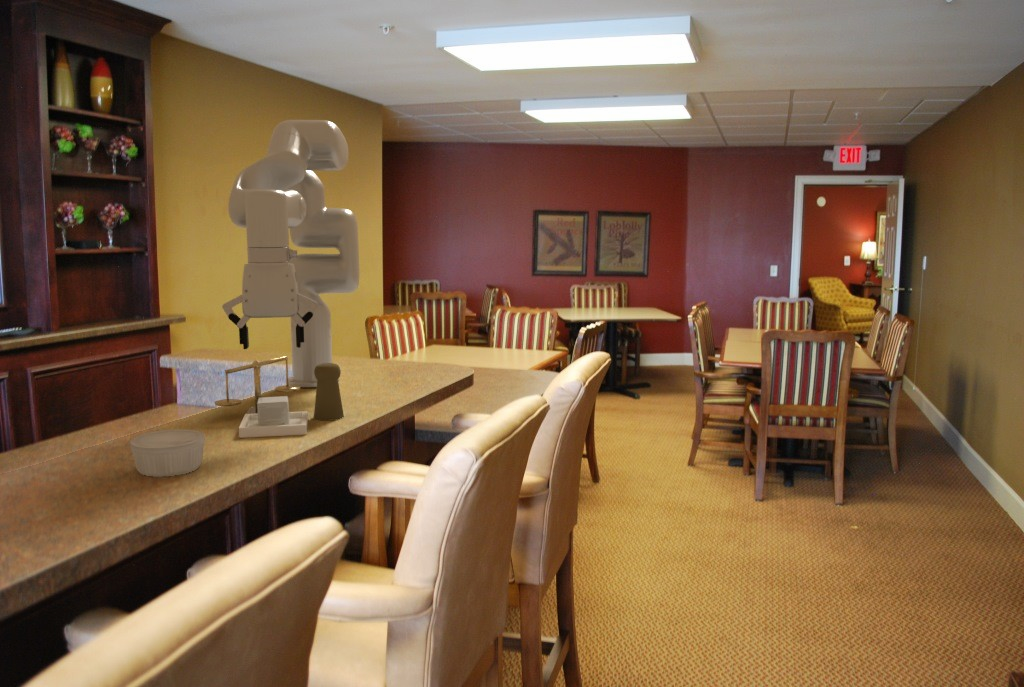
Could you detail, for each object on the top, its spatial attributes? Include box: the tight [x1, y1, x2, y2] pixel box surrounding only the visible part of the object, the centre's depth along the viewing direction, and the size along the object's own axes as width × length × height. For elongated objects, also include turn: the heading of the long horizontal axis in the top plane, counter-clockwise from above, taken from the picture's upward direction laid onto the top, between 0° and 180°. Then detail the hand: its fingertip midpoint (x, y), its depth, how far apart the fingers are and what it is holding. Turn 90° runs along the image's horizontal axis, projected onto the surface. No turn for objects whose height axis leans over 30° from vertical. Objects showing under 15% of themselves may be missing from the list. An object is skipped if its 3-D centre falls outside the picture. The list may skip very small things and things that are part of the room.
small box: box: [257, 395, 290, 426], centre depth 162 cm, size 6×6×5 cm
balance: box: [214, 355, 301, 414], centre depth 172 cm, size 6×17×12 cm, turn 102°
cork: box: [313, 362, 345, 421], centre depth 171 cm, size 6×6×11 cm
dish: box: [238, 410, 309, 439], centre depth 162 cm, size 12×12×2 cm
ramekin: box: [129, 428, 206, 478], centre depth 135 cm, size 11×11×5 cm
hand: (272, 347), depth 161 cm, fingers open, 9 cm apart
